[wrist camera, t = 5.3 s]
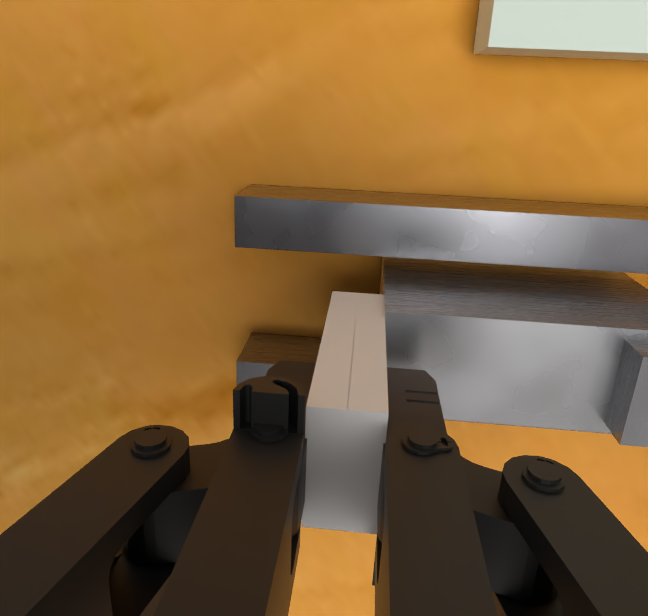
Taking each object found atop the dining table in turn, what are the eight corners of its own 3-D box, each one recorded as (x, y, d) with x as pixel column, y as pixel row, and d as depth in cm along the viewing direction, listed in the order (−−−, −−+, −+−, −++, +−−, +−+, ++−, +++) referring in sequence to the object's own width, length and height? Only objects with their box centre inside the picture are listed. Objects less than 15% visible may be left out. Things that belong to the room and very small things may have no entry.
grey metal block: (376, 329, 21) (376, 434, 14) (382, 251, 20) (386, 326, 13) (596, 346, 20) (700, 462, 14) (615, 266, 19) (736, 351, 13)
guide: (251, 370, 22) (236, 402, 20) (251, 184, 19) (234, 196, 17) (674, 404, 21) (712, 442, 19) (732, 211, 18) (784, 228, 16)
